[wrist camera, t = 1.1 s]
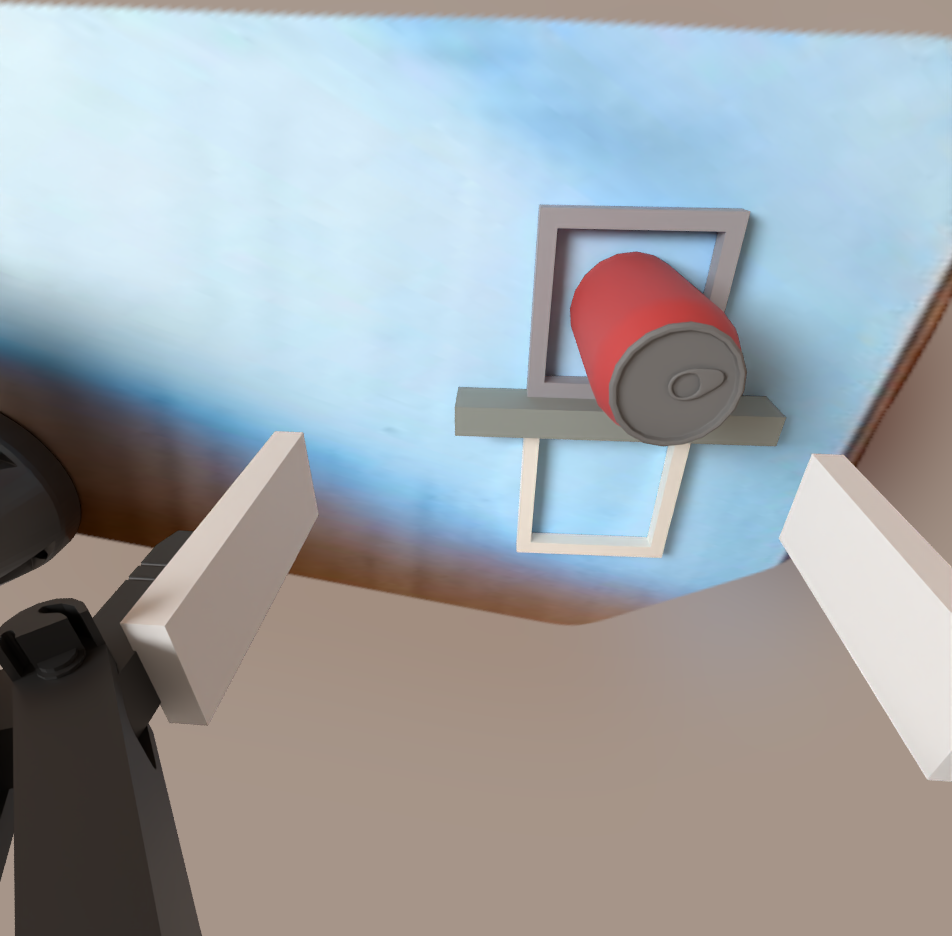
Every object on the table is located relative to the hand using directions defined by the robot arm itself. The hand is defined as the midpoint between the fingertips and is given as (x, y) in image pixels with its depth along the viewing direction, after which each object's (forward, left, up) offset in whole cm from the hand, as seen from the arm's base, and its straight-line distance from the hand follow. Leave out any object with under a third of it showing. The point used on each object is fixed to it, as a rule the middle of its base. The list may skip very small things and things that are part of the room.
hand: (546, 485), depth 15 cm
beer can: (+6, -1, -21) cm, 22 cm away
